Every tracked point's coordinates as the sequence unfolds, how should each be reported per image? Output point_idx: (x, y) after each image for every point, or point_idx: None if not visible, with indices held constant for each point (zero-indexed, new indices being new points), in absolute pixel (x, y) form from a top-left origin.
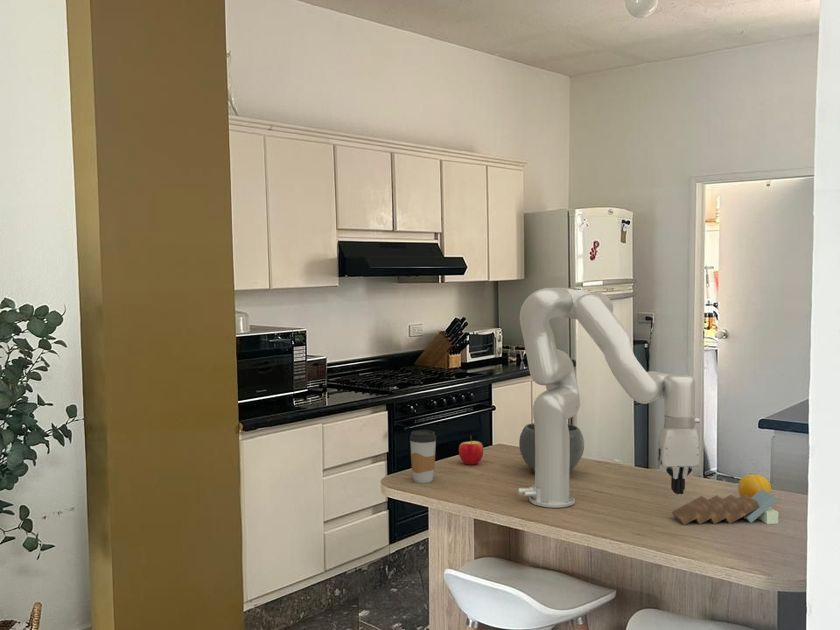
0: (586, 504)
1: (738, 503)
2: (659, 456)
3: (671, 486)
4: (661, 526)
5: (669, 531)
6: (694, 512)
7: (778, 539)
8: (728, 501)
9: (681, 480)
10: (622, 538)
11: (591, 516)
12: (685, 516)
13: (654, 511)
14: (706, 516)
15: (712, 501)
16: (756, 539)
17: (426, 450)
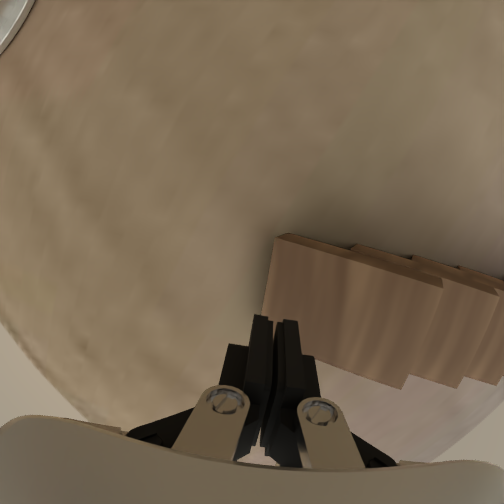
0: (51, 20)
1: (484, 381)
2: (6, 471)
3: (227, 352)
4: (176, 313)
5: (181, 361)
6: (315, 358)
7: (424, 445)
8: (494, 333)
9: (265, 446)
10: (44, 355)
11: (10, 153)
12: None
13: (249, 121)
14: None
15: (452, 318)
16: (381, 445)
17: None
